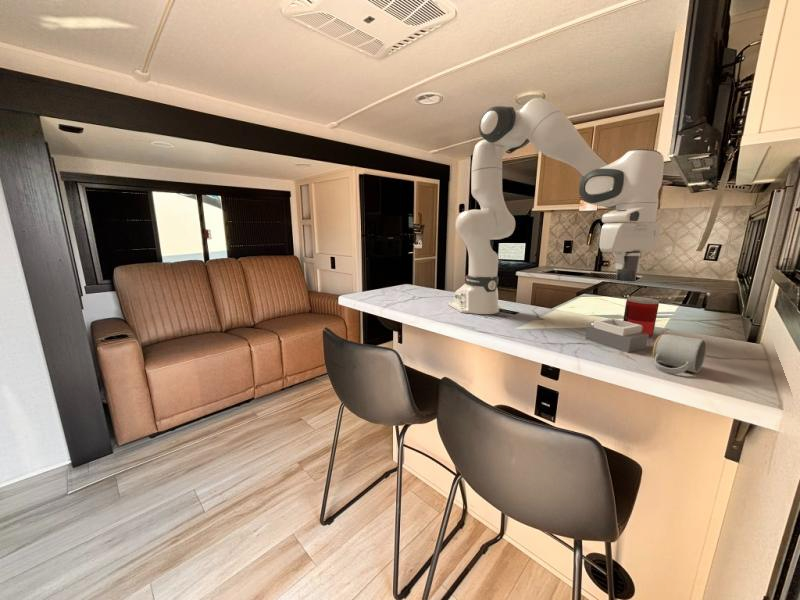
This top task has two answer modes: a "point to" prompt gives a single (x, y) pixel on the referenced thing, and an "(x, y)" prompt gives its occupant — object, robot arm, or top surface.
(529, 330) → the top surface
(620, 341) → the grey tissue box
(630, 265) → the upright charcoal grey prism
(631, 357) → the top surface
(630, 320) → the canned food
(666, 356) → the ceramic mug
